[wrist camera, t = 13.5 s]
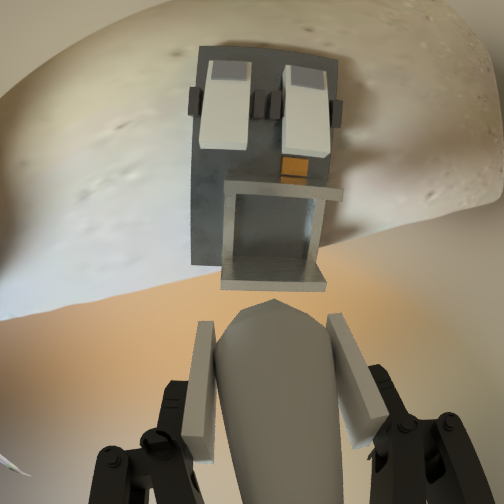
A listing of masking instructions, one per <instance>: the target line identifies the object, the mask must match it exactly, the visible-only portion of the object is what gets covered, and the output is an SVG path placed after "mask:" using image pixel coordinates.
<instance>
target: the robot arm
mask: <svg viewBox="0 0 504 504" xmlns="http://www.w3.org/2000/svg"><path fill="white" fill-rule="evenodd" d="M326 330H327V331H328V333H329V336H330V340H331V344H332V348H333V352H334V362H335V372H336V383H337V395H338V404H339V407H340V410H341V413H342V416H343V419H344V423H345V426H346V429H347V432H348V436H349V439H350V442H351V446H352V449H353V450H355V449H359V448H362V447H367V446H369V445H370V443H371V442H372V440H373V443H374V445H375V448H374V449H373V450H372V452H371V453H370V454H369V456H368V459H367V460H370V459H371V457H372V475H371V491H370V504H426V499H427V503H428V504H495V501H494V498H493V496H492V493H491V490H490V487H489V484H488V481H487V479H486V476H485V474H484V471H483V468H482V466H481V464H480V461H479V459H478V456H477V454H476V452H475V449H474V447H473V445H472V442H471V440H470V438H469V436H468V434H467V432H466V429H465V428H464V426H463V423H462V421H461V419H460V418H459V417H458V415H456V414H454V413H451V412H446V413H443V414H442V415H440V416H439V418H438V419H433V420H420V419H417V418H416V417H415V416H413V415H411V414H409V413H408V412H407V410H406V408H405V406H404V404H403V402H402V400H401V398H400V396H399V394H398V392H397V390H396V388H395V387H394V384H393V382H392V381H391V378H390V376H389V374H388V372H387V371H386V370H385V369H384V368H383V367H382V366H381V365H380V364H377V365H372V366H367V364H366V362H365V360H364V358H363V356H362V353H361V351H360V349H359V347H358V345H357V343H356V341H355V339H354V338H353V335H352V333H351V331H350V329H349V327H348V325H347V323H346V321H345V319H344V317H343V315H342V313H336V314H328V316H327V323H326ZM215 347H216V337H215V329H214V322H213V321H199V322H198V327H197V333H196V338H195V344H194V351H193V356H192V363H191V369H190V375H189V381H173V380H171V381H170V383H169V384H168V385H167V387H166V388H165V390H164V395H163V400H162V404H161V409H160V414H159V420H158V424H157V428H153V429H150V430H148V431H146V432H145V433H144V434H143V435H142V437H141V438H140V446H141V447H142V448H140V449H132V450H125V451H124V450H123V449H121V448H120V447H117V446H107V447H105V448H103V449H102V450H101V451H100V452H99V454H98V456H97V460H96V465H95V470H94V475H93V480H92V486H91V491H90V497H89V503H88V504H148V503H149V489H150V488H153V489H154V494H155V498H156V502H157V504H204V501H203V498H202V495H201V492H200V489H199V485H198V482H197V479H196V476H195V472H194V470H193V460H194V462H195V463H198V464H214V440H215V416H216V395H217V383H216V377H215V367H214V350H215Z"/></svg>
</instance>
